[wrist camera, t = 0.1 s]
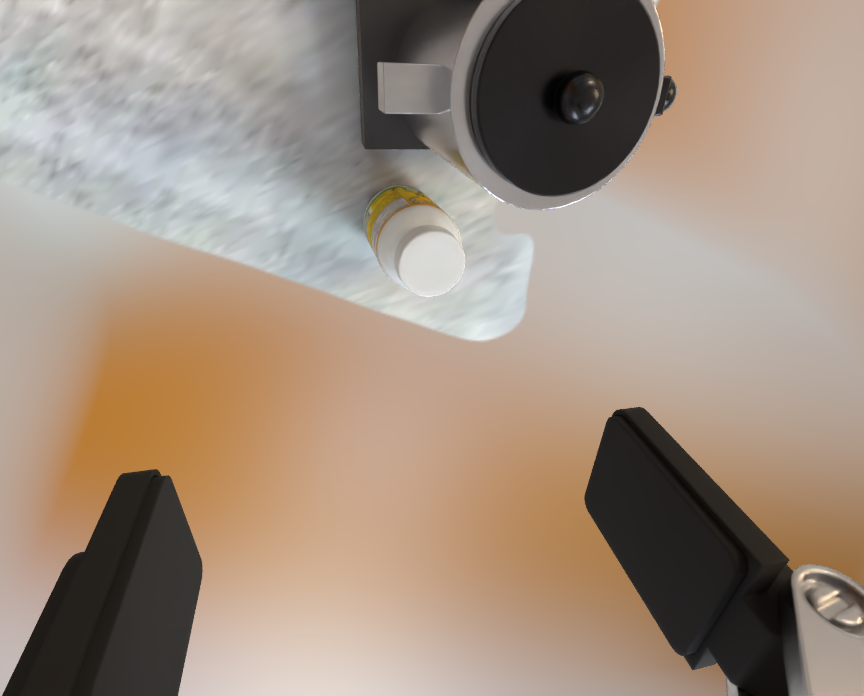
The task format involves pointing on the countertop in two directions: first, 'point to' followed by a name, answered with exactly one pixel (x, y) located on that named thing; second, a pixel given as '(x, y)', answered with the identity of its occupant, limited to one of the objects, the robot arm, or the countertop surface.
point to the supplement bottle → (414, 241)
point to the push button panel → (377, 42)
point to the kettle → (531, 91)
